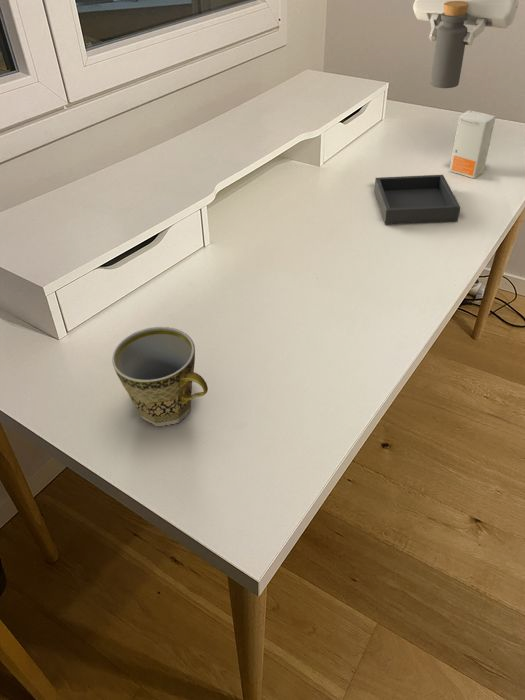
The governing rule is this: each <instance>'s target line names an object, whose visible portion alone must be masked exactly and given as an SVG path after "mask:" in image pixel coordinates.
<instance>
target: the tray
mask: <svg viewBox="0 0 525 700" xmlns="http://www.w3.org/2000/svg"><path fill="white" fill-rule="evenodd" d="M374 195H375V199H376V202H377V205H378V208H379V210H380V211H379V212H380V214H381V216H382V220H383V223H384V226H389V225H392V226H393V225H394V226H395V225H413V224H414V225H417V224H437V223H439V224H441V223H457V222H458V221H459V215H460V212H461V211H460V210H461V205H460V203H459V202H458V200H457V198H456V196H455V195H454V192H453V190H452V189H451V187H450V185H449V183H448V182H447V179H446V177H445V176H444V174H428V175H425V174H424V175H405V176H404V175H403V176H383V177H382V176H381V177H375V179H374Z"/></svg>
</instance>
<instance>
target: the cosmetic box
mask: <svg viewBox="0 0 525 700" xmlns="http://www.w3.org/2000/svg"><path fill="white" fill-rule="evenodd" d="M495 123H496V116H495V115H492V114H487V113H486V112H485V113H484V112H480V111H479V112H478V111H473V110H470V109H469V110H467V111H465V112H464V113H462V114H460V115H459V117H458V121H457V127H456V133H455V137H454V144H453V149H452V154H451V159H450V165H449V172H451V173H455V174H458V175H461V176H463V177H468V178H470V179H472V180H473V179H476V178H477V177H479V176H480V175H481V174H483V173H484V172H485V167H486V163H487V157H488V153H489V150H490V149H489V148H490V145H491V144H490V143H491V139H492V135H493V131H494V127H495Z"/></svg>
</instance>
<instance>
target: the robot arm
mask: <svg viewBox="0 0 525 700" xmlns="http://www.w3.org/2000/svg"><path fill="white" fill-rule="evenodd" d="M449 1H464V2H467V3H469V5H468V8H467V11H466V13H468V19H467V20H466V21H464V25H465V26H475V27H473V29H471V30H470V31H467V32H466V34H465V37H464V39H463V43H464V45H465V46H472V45H473V43H474V40H475V39H476V38H477V37H478V36H480V34H482V33H483V32H484V30H485V28H486V27H487V28H497V29H507V28H508V27H510V26H511V25H512V24H513V22H514V21H515V17H516V15H517V11H518V7H519V0H414V3H413V4H412V10H413V13H414V16H415V17H416V19H417V20H418V21H426V22H430V28H431V30H430V32H429V35H428V39H429V41H430V42H436V37H437V30H438V28H437V27H440V23H443V21H442V20H441V14H442V13H444V3H446V2H449Z"/></svg>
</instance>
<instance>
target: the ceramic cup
mask: <svg viewBox="0 0 525 700" xmlns="http://www.w3.org/2000/svg"><path fill="white" fill-rule="evenodd" d="M111 361H112V367H113V369H114V371H115V374H116V376H117V377H118V379H119V381H120V384H121V385H122V386H123V388H124V389H125V391H126V392H127V393H128V396H129V398H130V400H131V401H132V403H133V405H134V406H135V408H136V411H137V412H138V414H139V415H140V417H141V419H143V420H144V421H145V422H147V423H150V424H151V423H152V424H151V425H153V426H155V427H157V426H162V427H164V426H163V425H168V426H170V425H169V424H174V425H176V424H175V423H178V422H180V421H181V420H182V419H183V418H184V417H185V416H186V415H187V414H188V413H189V412H190V413H191V411H192V400H193V399H195V398H199V397H204V396H205V395H206V394H207V393H208V390H209V387H208V383H207V382H206V380H205V379H204V378H203V376H202V375H201V374H199V373H197V372H195V364H196V363H195V362H196V345H195V343H194V340H193V339H192V338H191V337H190V336H189V334H187V333H186V332H184V331H182V330H181V329H177V328H174V327H169V326H153V327H147V328H144V329H140V330H137V331H135V332H133V333H131V334H129V335H127V336H126V337H125V338H123V339H122V340H121V341H120V342H119V343H118V344H117V346H116V347H115V348H114V350H113V353H112V359H111ZM193 382H194V383H197V384H198V385H199V386H200V387H201V389H202V391H200V392H195V393H193V394H192V390H193ZM190 413H189V414H190ZM189 414H188V415H189ZM188 415H187V416H188ZM187 416H186V417H187ZM186 417H185V418H186ZM185 418H184V419H185ZM184 419H183V420H184ZM183 420H182V421H183ZM182 421H181V422H182ZM181 422H180V423H181Z"/></svg>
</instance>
